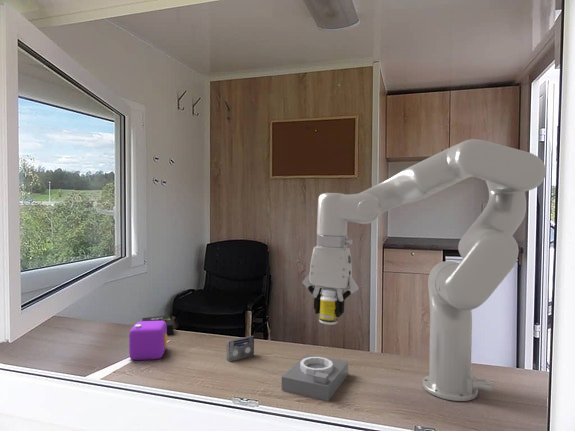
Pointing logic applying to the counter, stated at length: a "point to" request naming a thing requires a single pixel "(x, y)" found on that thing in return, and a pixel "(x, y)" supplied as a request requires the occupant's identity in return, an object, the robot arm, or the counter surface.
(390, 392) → the counter surface
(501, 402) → the counter surface
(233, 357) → the mini dv tape
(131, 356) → the toy camera
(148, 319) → the battery charger
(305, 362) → the grey ring holder base
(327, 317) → the supplement bottle
